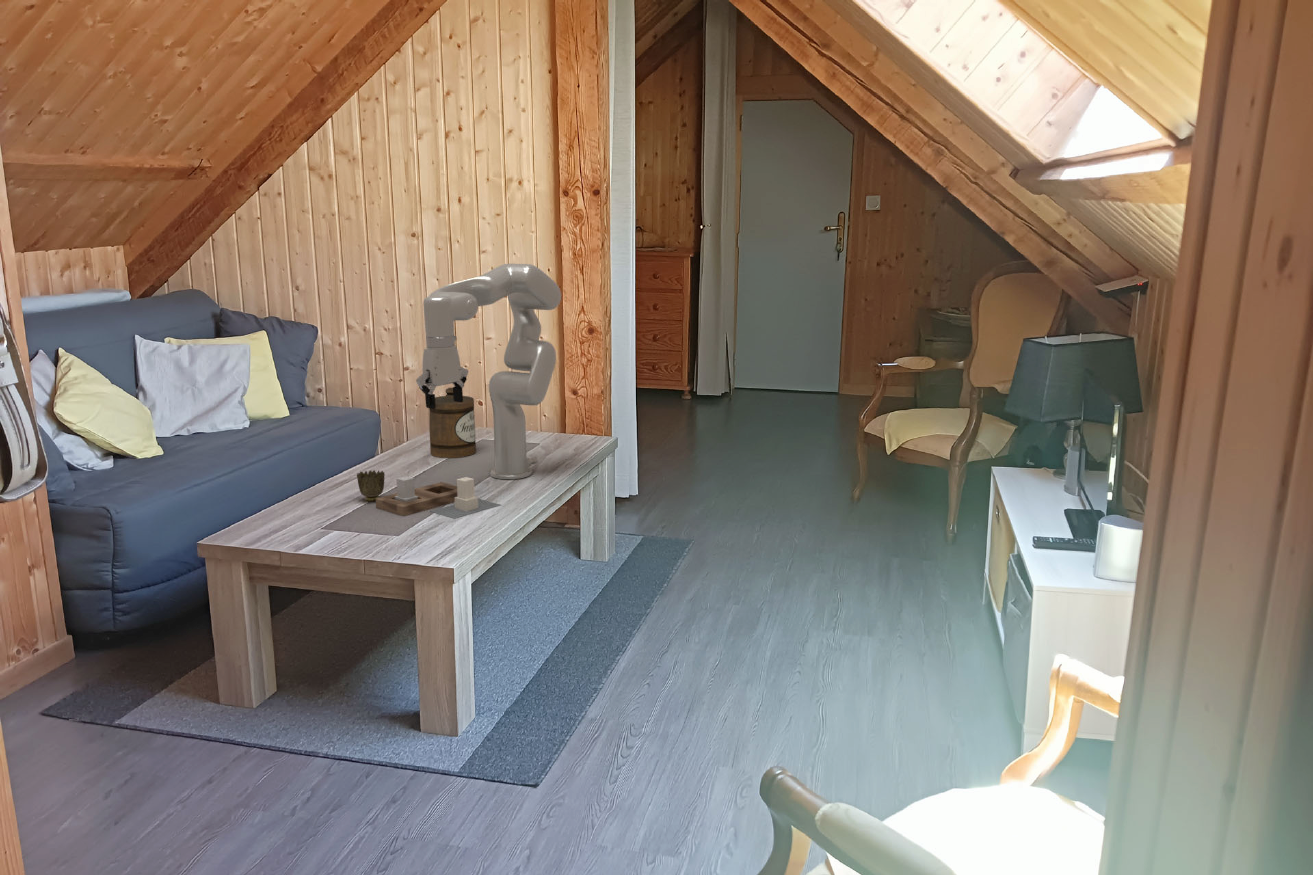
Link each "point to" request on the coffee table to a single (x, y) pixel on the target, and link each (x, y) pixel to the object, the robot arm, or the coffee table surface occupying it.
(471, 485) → the ivory plug
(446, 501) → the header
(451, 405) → the wooden container
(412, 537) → the coffee table surface
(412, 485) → the grey plug
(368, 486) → the cup
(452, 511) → the mat
